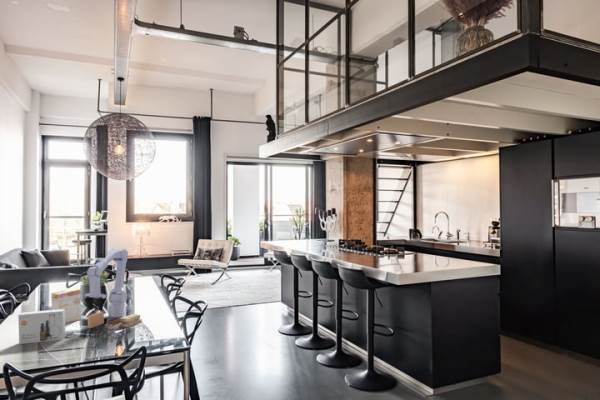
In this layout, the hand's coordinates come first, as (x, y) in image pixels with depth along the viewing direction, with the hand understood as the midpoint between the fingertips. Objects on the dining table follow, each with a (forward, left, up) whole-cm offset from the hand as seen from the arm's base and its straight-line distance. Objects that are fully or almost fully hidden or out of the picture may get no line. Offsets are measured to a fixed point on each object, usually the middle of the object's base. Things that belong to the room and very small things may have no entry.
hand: (95, 309), depth 245 cm
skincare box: (-9, -27, -11) cm, 31 cm away
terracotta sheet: (0, 0, -10) cm, 11 cm away
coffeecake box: (-29, +5, -11) cm, 31 cm away
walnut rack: (+14, +8, -10) cm, 19 cm away
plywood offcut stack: (+19, +8, -9) cm, 22 cm away
